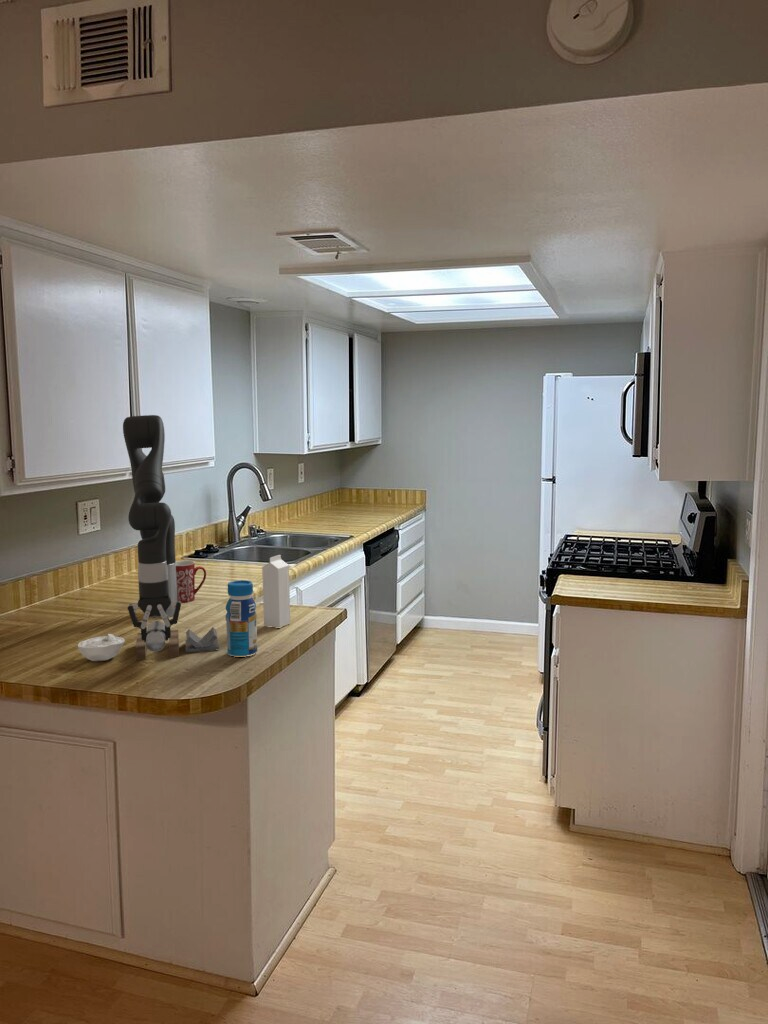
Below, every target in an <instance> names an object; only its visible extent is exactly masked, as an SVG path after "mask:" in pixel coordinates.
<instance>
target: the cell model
mask: <svg viewBox="0 0 768 1024" xmlns="http://www.w3.org/2000/svg"><path fill="white" fill-rule="evenodd" d="M125 641H126V639H124V638H123V637H121V636H116V635H114V634H112V633H107V635H102V636H101V635H100V636H94V637H92V638H88V639H86V640H82V641H79V643H78V644H77V648H78V650H79V652H80V654H81V655H82V657H84V658H86V660H87V659H88V660H89V661H91V662H104V661H108V660H110V659H113V658H114V657H116V656H118V654H119V652H120V651H121V649H122V647H123V645H124V643H125Z"/></svg>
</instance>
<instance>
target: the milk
mask: <svg viewBox="0 0 768 1024" xmlns="http://www.w3.org/2000/svg"><path fill="white" fill-rule="evenodd" d="M281 556H282V555H281V554H277V555H274V556H271V557H269V562H268V563H267V564H265V565H263V566H262V567H261V569H262V570H261V573H262V600H263V601H262V605H263V606H262V607H263V627H264V626H272V627H281V626H284V625H286V624H288V623H290V624H291V597H290V596H291V594H290V565H289V564H288V563H287V562H285V561H284V560H283V559H282V557H281Z"/></svg>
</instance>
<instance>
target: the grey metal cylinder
mask: <svg viewBox="0 0 768 1024" xmlns="http://www.w3.org/2000/svg"><path fill="white" fill-rule="evenodd" d="M146 646H147V650H148V651H150V652H153V653H154V652H155V653H157V652H160V651H162V650H163V649H164V648H165V646H166V640H165V623H164V622H162V621H161V620H154V621H153V620H152V621H151V622H150V623H149V624H148V626H147V637H146Z"/></svg>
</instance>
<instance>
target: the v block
mask: <svg viewBox="0 0 768 1024" xmlns="http://www.w3.org/2000/svg"><path fill="white" fill-rule="evenodd" d="M185 634H186V636H185V638H186V639H185V640H184V641H185V653H186V654H189V653H190V652H192V653H199V652H198V651H203V652H208V651H207V650H214V651H217V650H216V649H219V650H220V644H219V639H218V633H217V630H216V628H215V627H211V628H210V630H209V631H207V633H205V635H204V636H203V637H202V638H201V637H199V635H197V634H196V633H195V632H194V631H192V630H191V629H188V630H187V631H186V632H185ZM190 654H191V653H190Z"/></svg>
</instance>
